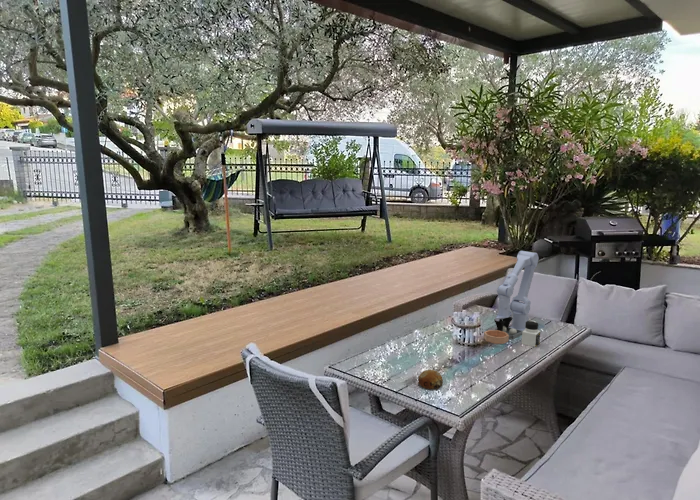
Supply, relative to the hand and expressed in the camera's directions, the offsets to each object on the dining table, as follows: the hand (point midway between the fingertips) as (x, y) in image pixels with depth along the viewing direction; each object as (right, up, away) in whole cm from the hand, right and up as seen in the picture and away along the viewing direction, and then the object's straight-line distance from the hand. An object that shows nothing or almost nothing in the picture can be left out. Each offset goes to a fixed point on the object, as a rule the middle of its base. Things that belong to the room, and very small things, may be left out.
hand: (502, 331), depth 260 cm
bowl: (-7, -3, -10) cm, 13 cm away
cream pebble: (0, -1, 0) cm, 1 cm away
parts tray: (+2, -2, -2) cm, 3 cm away
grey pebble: (+4, -2, -4) cm, 6 cm away
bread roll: (-50, -12, -63) cm, 81 cm away
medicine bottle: (+9, -4, -16) cm, 19 cm away
